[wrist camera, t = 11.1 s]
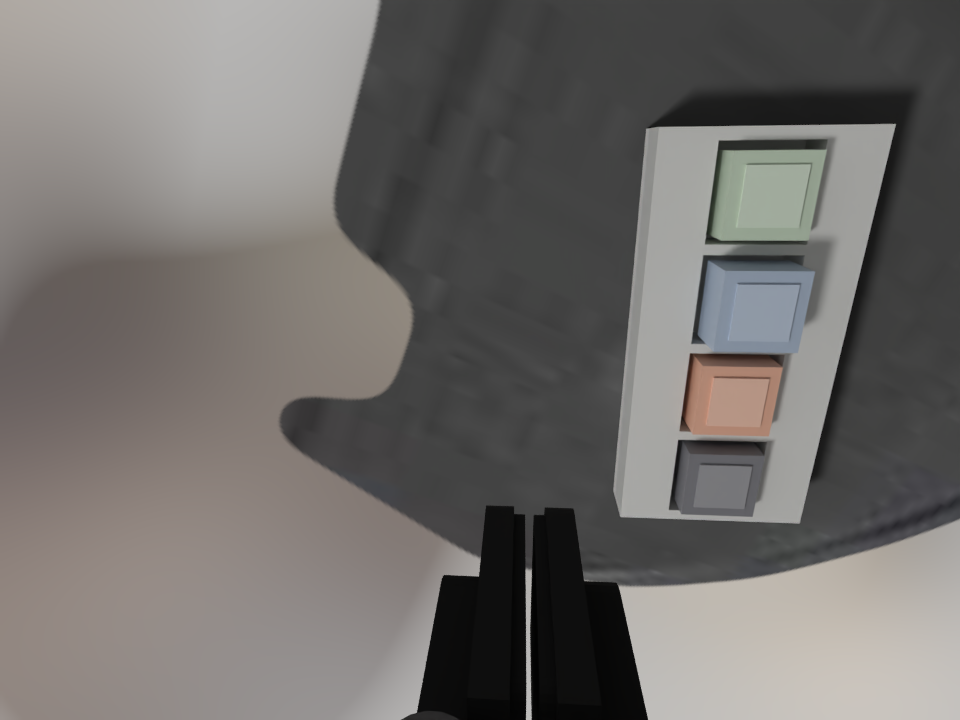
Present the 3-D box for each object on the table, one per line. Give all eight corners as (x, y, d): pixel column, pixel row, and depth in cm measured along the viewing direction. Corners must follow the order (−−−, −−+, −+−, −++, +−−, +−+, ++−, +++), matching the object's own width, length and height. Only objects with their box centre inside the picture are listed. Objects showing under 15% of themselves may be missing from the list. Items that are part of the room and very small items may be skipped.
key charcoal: (746, 433, 37) (765, 457, 35) (736, 490, 39) (753, 518, 36) (677, 431, 38) (690, 455, 35) (670, 488, 39) (681, 515, 37)
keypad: (860, 125, 31) (896, 123, 28) (779, 495, 41) (799, 523, 38) (646, 128, 32) (658, 127, 29) (613, 490, 41) (620, 516, 38)
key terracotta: (762, 350, 35) (783, 368, 32) (750, 414, 37) (769, 437, 34) (688, 349, 36) (703, 367, 33) (680, 412, 37) (693, 435, 34)
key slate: (789, 260, 32) (816, 272, 29) (775, 335, 34) (799, 354, 31) (707, 260, 32) (726, 271, 29) (697, 334, 34) (714, 352, 31)
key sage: (799, 149, 31) (828, 149, 28) (784, 232, 33) (809, 241, 30) (715, 150, 31) (735, 150, 28) (704, 232, 33) (721, 240, 30)
